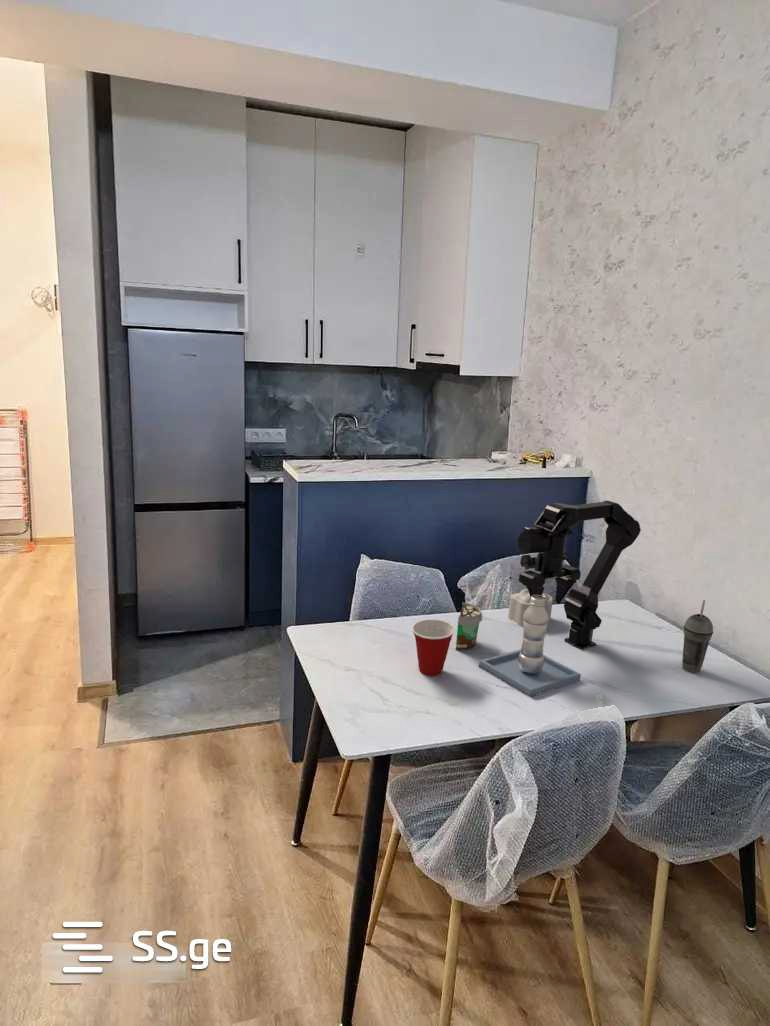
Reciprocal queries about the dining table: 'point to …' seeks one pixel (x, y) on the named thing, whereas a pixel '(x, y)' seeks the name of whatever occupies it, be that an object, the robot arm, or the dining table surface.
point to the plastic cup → (432, 644)
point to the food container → (468, 626)
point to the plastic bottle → (533, 636)
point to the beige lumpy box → (525, 606)
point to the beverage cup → (696, 641)
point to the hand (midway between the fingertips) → (546, 605)
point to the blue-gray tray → (529, 683)
